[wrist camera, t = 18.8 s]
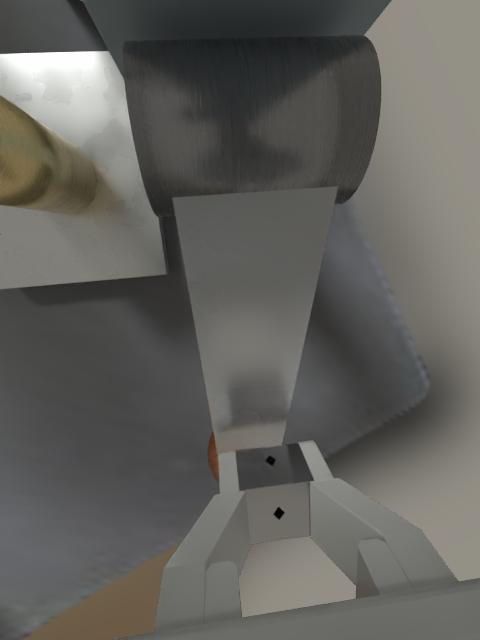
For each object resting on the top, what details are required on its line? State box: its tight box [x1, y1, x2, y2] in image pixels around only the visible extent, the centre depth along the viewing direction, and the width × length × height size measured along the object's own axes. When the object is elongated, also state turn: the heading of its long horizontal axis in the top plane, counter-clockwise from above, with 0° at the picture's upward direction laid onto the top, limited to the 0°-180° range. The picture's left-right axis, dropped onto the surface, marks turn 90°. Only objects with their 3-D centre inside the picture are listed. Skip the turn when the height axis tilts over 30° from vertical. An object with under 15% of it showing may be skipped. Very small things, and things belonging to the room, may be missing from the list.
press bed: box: [0, 51, 170, 289], centre depth 21 cm, size 14×12×2 cm
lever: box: [123, 35, 381, 483], centre depth 9 cm, size 14×3×3 cm, turn 3°
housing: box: [0, 95, 97, 214], centre depth 15 cm, size 5×5×12 cm
